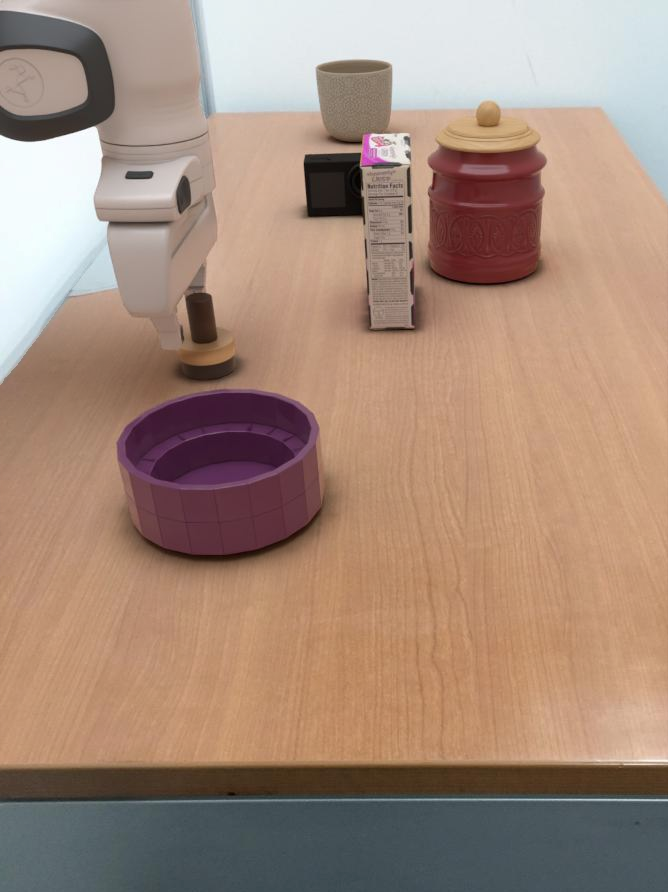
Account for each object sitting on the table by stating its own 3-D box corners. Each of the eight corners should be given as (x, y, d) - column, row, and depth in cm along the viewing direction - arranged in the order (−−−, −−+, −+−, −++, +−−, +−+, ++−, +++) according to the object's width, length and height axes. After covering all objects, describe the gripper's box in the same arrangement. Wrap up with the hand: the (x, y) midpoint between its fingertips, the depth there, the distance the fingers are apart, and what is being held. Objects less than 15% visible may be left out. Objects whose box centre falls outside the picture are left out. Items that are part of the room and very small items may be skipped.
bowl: (108, 560, 66) (89, 488, 63) (160, 454, 78) (146, 388, 74) (311, 563, 65) (304, 490, 62) (333, 456, 77) (328, 389, 73)
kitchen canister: (559, 258, 112) (572, 95, 102) (506, 294, 104) (514, 120, 93) (464, 239, 118) (466, 84, 108) (406, 272, 109) (403, 106, 99)
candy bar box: (368, 289, 105) (361, 132, 96) (414, 288, 105) (411, 131, 96) (366, 331, 96) (358, 162, 87) (415, 330, 96) (413, 161, 87)
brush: (174, 380, 88) (161, 309, 84) (187, 355, 93) (176, 286, 89) (231, 381, 88) (221, 309, 84) (242, 355, 92) (233, 286, 88)
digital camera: (306, 219, 126) (301, 164, 121) (308, 207, 130) (304, 153, 126) (385, 217, 126) (383, 162, 122) (384, 204, 130) (382, 151, 126)
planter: (316, 131, 164) (311, 61, 158) (387, 126, 166) (385, 57, 160) (324, 149, 154) (319, 75, 148) (400, 144, 156) (398, 71, 150)
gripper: (155, 138, 88) (178, 283, 97) (85, 206, 72) (120, 374, 80) (222, 138, 88) (240, 283, 96) (167, 206, 72) (195, 374, 80)
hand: (185, 325), depth 88 cm, fingers open, 8 cm apart
